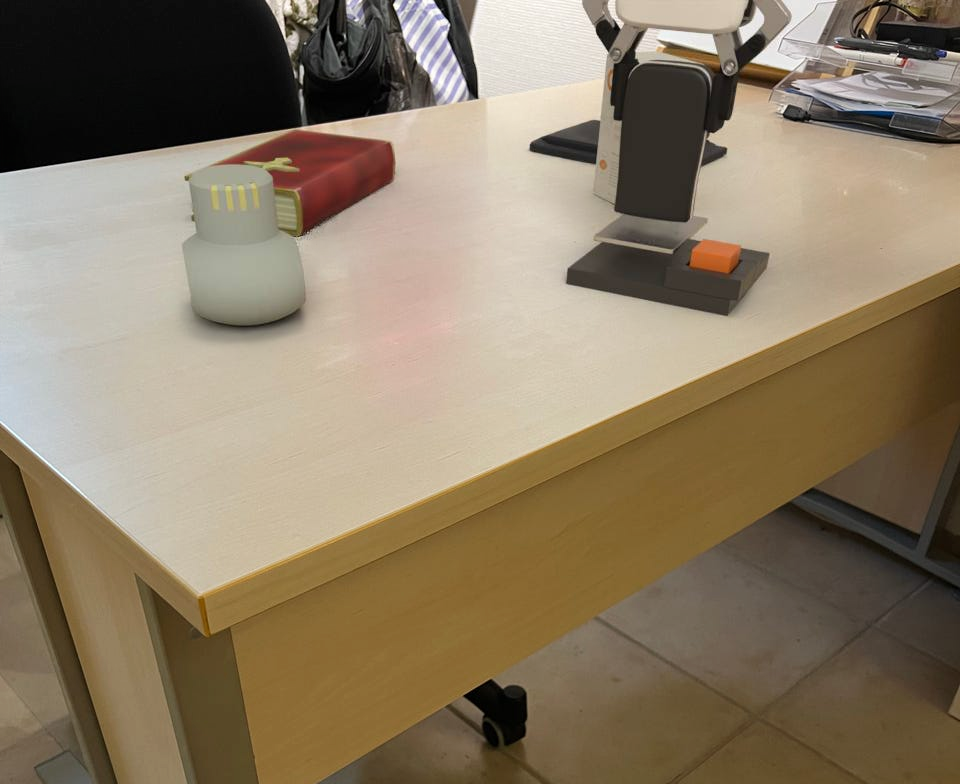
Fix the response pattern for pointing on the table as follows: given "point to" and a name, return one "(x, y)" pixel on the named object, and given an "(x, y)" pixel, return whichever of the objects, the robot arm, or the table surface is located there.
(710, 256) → the button
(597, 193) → the small box
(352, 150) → the hardcover book
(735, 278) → the scale
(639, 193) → the battery charger
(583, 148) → the wallet
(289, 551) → the table surface
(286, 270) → the air freshener
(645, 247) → the weighing plate
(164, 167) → the table surface
